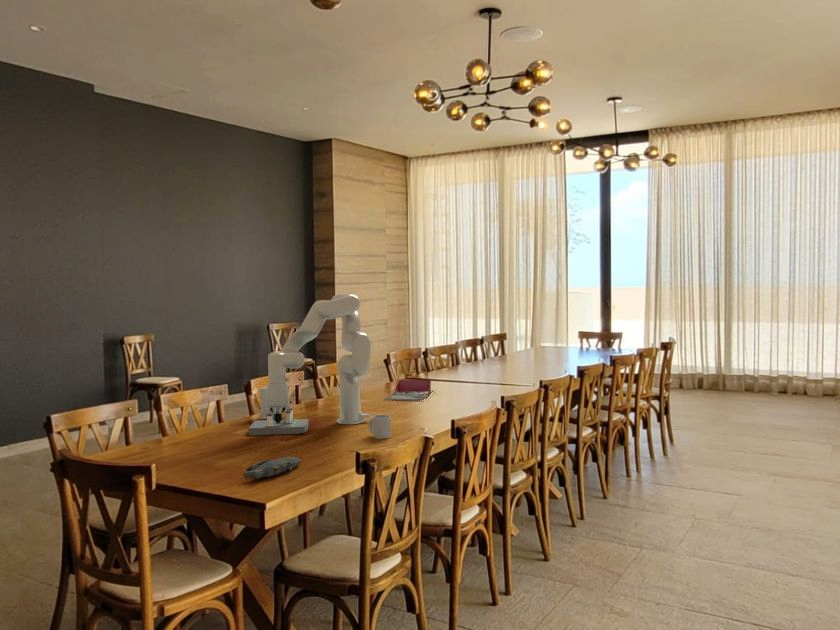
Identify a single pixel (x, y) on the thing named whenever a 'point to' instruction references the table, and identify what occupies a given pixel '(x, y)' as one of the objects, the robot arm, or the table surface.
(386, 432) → the cup
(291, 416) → the back lever
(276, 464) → the grey rough slab
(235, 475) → the table surface
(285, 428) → the switch panel
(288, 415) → the middle lever
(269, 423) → the lever
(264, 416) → the circuit breaker
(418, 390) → the open laptop
